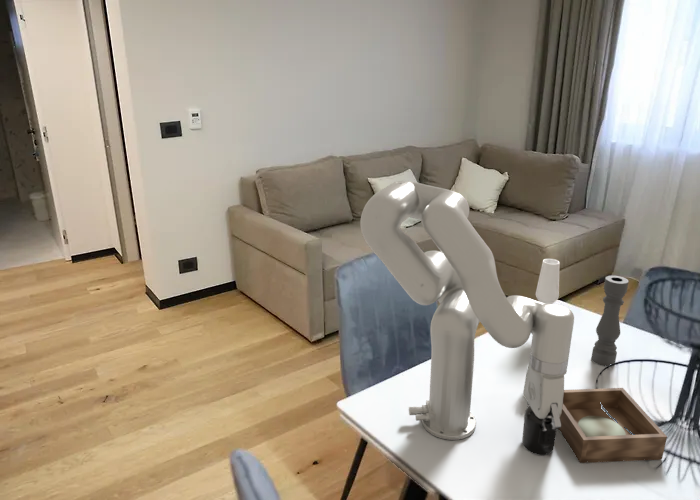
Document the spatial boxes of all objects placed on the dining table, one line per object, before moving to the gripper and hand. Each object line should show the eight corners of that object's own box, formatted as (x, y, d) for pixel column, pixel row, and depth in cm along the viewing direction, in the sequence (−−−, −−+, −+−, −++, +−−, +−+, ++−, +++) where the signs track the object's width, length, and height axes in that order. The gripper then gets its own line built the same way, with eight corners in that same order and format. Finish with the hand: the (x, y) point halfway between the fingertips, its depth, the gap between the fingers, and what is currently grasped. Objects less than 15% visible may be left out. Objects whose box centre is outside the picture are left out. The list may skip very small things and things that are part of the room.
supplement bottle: (549, 436, 125) (555, 391, 121) (557, 457, 119) (564, 410, 114) (518, 434, 126) (524, 390, 121) (524, 455, 119) (530, 409, 115)
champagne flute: (538, 326, 175) (547, 255, 167) (557, 333, 171) (567, 261, 162) (526, 332, 171) (534, 261, 163) (545, 340, 167) (555, 267, 158)
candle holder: (618, 366, 153) (634, 284, 144) (596, 366, 153) (610, 284, 144) (609, 355, 158) (623, 275, 150) (587, 354, 159) (600, 275, 150)
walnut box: (580, 463, 117) (583, 440, 115) (547, 411, 134) (549, 390, 132) (661, 459, 118) (667, 436, 116) (618, 408, 135) (622, 387, 132)
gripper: (516, 341, 123) (509, 409, 129) (547, 386, 107) (537, 460, 113) (549, 340, 123) (540, 407, 129) (584, 384, 107) (572, 458, 113)
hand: (539, 431), depth 121 cm, fingers closed on supplement bottle, 6 cm apart
